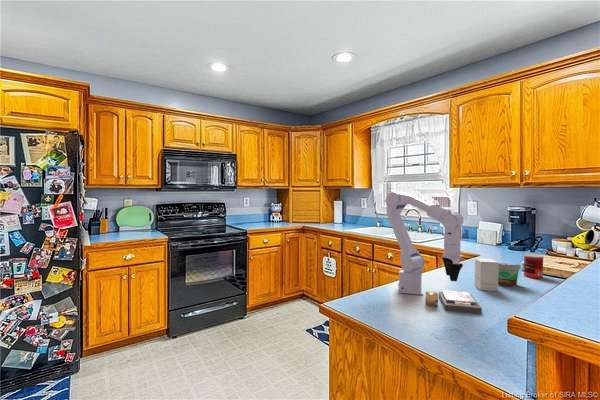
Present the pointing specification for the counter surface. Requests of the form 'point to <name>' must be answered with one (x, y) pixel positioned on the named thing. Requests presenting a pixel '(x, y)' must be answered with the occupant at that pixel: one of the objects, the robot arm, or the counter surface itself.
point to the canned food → (533, 266)
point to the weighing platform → (458, 296)
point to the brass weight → (431, 299)
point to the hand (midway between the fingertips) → (451, 278)
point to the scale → (460, 305)
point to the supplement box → (486, 274)
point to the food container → (508, 274)
